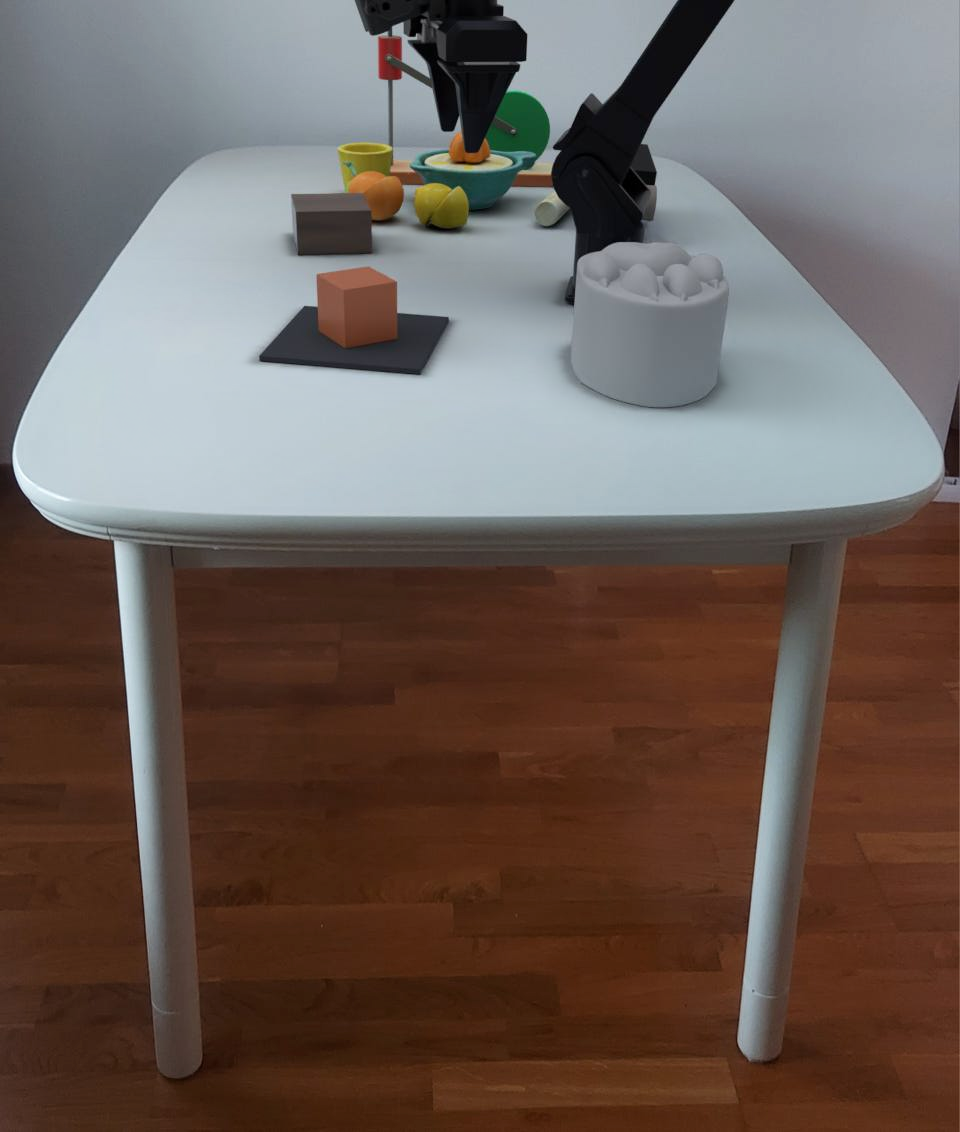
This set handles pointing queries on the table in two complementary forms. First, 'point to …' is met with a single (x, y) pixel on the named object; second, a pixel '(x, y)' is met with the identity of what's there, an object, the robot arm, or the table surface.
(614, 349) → the lumpy-topped squat cylinder
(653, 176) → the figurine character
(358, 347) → the mat
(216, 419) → the table surface
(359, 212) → the base block
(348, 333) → the top block
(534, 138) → the crank mechanism
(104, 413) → the table surface
